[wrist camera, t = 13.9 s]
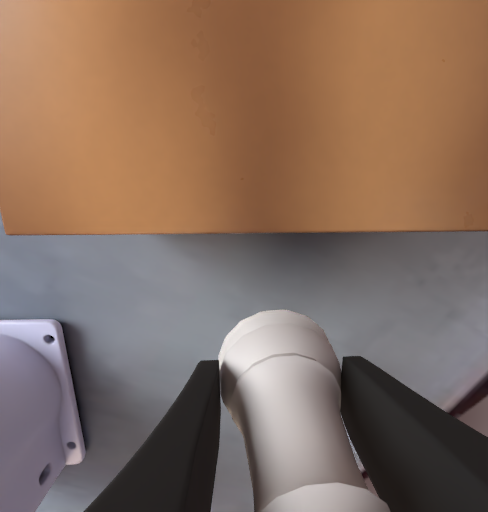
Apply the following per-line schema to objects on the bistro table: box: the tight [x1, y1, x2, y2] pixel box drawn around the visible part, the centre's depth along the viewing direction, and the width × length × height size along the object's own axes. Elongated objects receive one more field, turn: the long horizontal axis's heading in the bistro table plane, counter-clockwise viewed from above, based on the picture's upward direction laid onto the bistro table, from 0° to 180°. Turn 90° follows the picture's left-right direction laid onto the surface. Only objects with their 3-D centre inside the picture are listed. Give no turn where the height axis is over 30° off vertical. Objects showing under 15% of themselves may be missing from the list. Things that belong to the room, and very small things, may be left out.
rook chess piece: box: [218, 310, 390, 512], centre depth 6 cm, size 4×4×8 cm
